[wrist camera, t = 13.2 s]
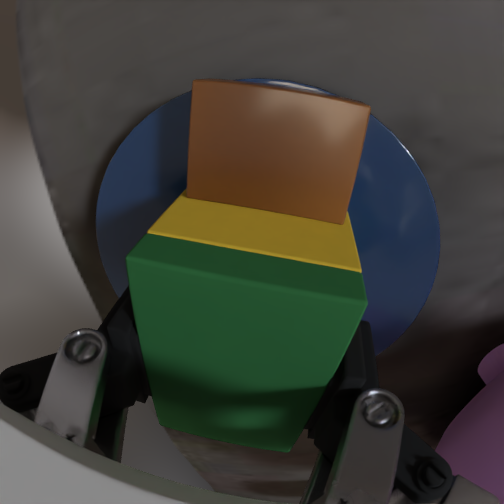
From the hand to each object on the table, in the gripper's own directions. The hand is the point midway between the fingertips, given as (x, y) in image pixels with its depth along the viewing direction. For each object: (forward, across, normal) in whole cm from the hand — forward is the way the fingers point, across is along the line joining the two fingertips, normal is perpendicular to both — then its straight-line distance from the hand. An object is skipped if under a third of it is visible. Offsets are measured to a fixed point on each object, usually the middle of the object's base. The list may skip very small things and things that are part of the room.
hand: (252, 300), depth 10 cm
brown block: (0, 0, -5) cm, 5 cm away
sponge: (0, 0, 0) cm, 0 cm away
